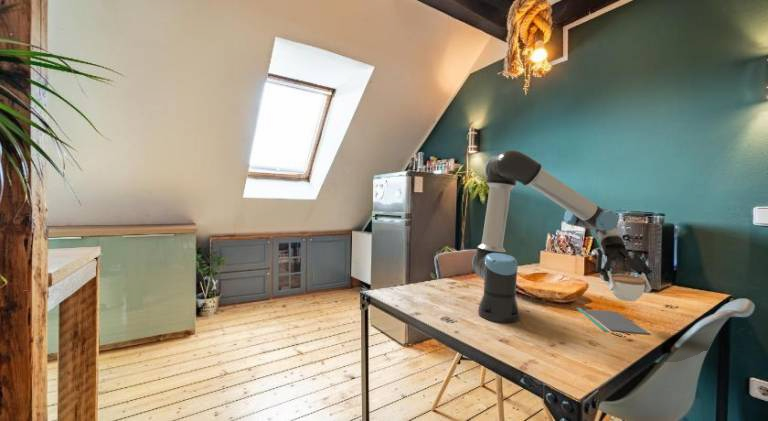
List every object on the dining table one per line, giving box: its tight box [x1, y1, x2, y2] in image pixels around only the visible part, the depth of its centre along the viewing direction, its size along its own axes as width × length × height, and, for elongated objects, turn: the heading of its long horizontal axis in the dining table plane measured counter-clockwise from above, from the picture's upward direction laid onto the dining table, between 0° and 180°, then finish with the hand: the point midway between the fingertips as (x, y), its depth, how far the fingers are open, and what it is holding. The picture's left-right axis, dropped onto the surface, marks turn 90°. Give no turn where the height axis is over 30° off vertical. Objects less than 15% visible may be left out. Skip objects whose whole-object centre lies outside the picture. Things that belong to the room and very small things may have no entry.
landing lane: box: [576, 307, 651, 335], centre depth 124 cm, size 15×24×1 cm, turn 169°
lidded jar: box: [610, 272, 646, 302], centre depth 119 cm, size 11×11×9 cm
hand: (630, 289), depth 116 cm, fingers closed on lidded jar, 11 cm apart
